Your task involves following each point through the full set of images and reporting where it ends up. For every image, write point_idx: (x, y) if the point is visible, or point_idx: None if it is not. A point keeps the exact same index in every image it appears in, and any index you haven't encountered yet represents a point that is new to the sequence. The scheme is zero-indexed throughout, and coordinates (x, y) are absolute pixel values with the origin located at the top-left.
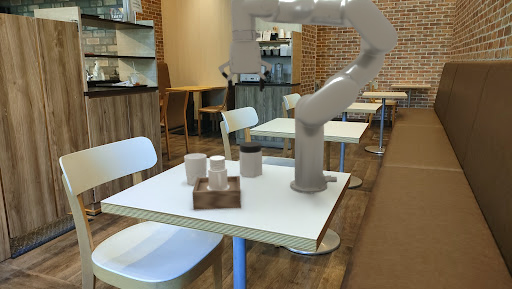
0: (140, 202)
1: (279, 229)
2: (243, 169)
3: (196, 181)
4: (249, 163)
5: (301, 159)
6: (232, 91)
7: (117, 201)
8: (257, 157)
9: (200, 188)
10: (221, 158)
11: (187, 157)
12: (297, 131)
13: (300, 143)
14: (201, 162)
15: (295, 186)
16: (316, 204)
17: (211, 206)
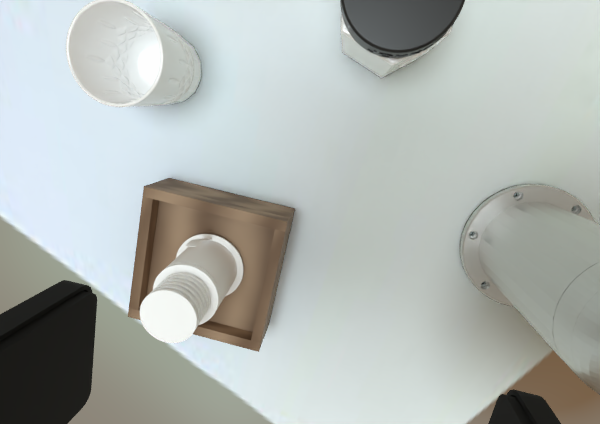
0: (18, 196)
1: None
2: (346, 50)
3: (140, 228)
4: (371, 61)
5: (527, 320)
6: (74, 409)
7: None
8: (414, 55)
9: (158, 251)
10: (183, 329)
11: (85, 22)
12: (597, 362)
13: (562, 355)
14: (148, 102)
15: (472, 256)
16: (468, 370)
17: None
